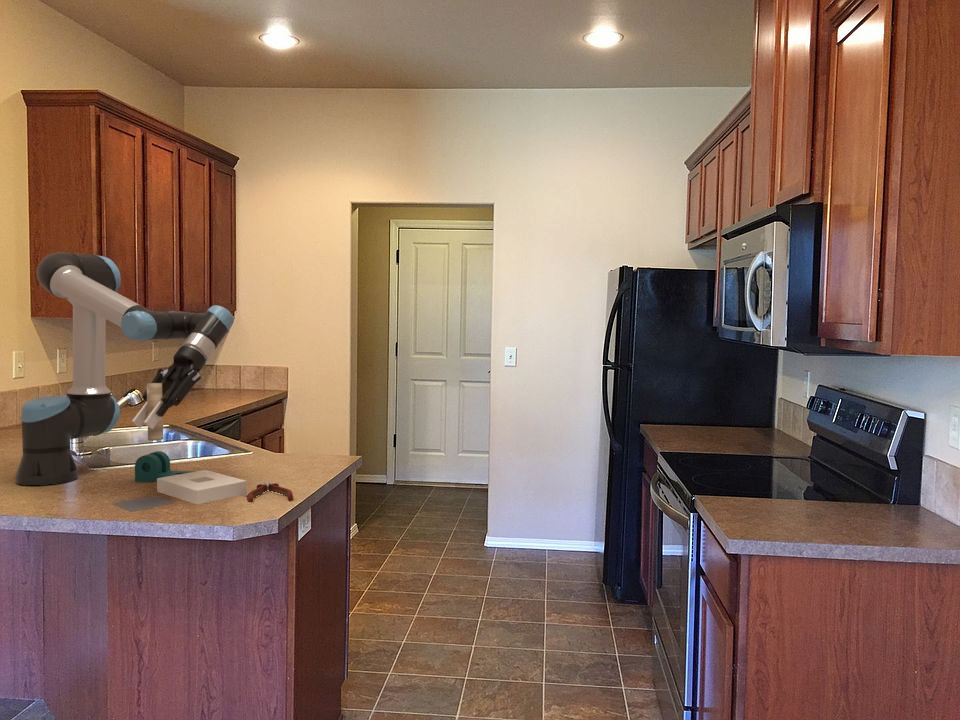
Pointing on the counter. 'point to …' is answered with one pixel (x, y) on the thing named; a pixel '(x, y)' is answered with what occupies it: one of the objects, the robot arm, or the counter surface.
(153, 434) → the peg
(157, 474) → the bracket
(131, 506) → the mat
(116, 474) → the counter surface
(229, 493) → the hole block
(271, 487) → the pliers
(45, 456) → the robot arm
